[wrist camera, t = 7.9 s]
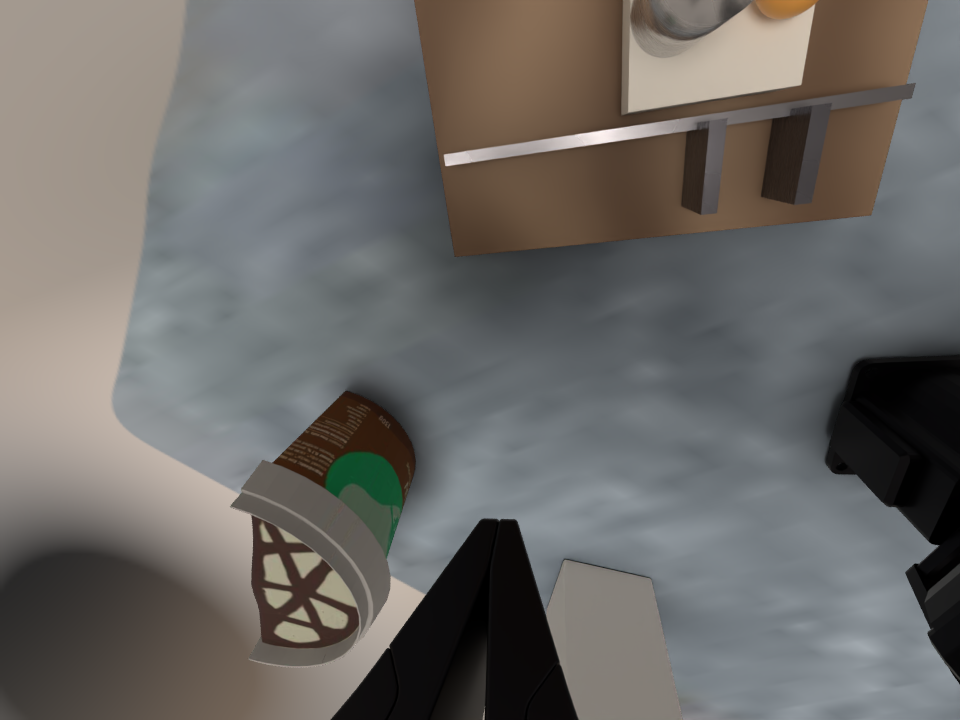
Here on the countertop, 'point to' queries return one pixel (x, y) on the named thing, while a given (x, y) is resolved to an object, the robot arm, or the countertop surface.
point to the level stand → (649, 127)
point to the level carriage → (710, 50)
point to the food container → (326, 532)
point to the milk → (611, 645)
